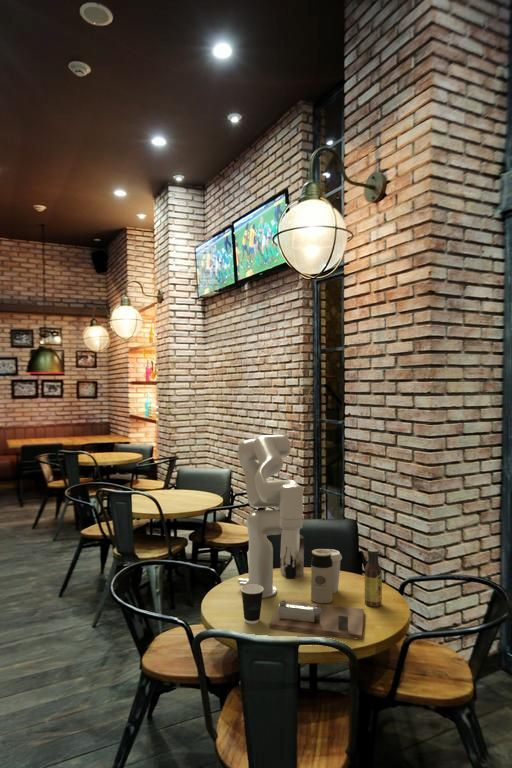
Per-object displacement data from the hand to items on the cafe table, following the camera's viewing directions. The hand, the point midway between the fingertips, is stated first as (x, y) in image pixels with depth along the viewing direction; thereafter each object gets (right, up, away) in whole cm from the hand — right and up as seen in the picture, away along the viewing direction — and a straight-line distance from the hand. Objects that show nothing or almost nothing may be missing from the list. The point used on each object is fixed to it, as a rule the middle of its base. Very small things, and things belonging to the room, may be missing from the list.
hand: (290, 578), depth 167 cm
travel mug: (+13, -18, +25) cm, 33 cm away
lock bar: (+3, -15, +4) cm, 16 cm away
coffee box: (+4, -18, +52) cm, 55 cm away
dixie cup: (-13, -17, +7) cm, 23 cm away
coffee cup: (+18, -18, +34) cm, 42 cm away
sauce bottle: (+32, -18, +21) cm, 42 cm away
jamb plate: (+10, -17, +7) cm, 21 cm away
